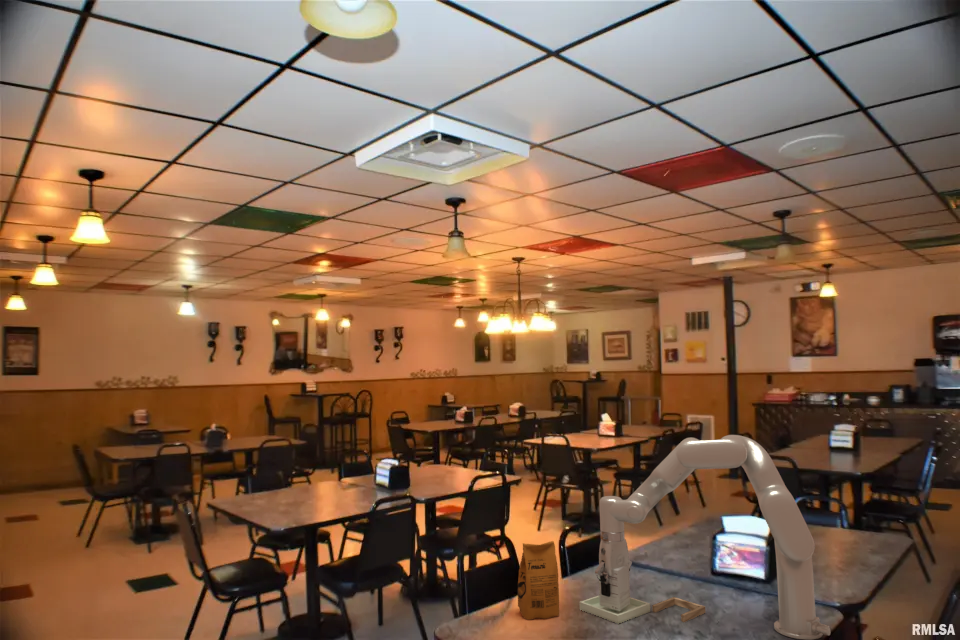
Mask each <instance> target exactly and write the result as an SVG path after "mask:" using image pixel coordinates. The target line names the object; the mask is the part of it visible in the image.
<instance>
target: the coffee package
mask: <svg viewBox="0 0 960 640" xmlns="http://www.w3.org/2000/svg"><path fill="white" fill-rule="evenodd" d="M522 551H523V552H521V553H522V556H521V558H520V559H521V560H520V564H519V569H518V579H517V580H518V581H517V607H518V608H519V609H518V610H519V612H520V614H521V616H522V618H523V619H525V620H527V621H530V620H531V621H532V620H534V619H543V620H547V619H551V618H555V617H559V616H560V592H559V589H560V588H559V586H560V584H559V568H558V561H557V554H556V545H555V542H554V541H553V540H552V541H548V542H545V543H541V544H533V543H522Z"/></svg>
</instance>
